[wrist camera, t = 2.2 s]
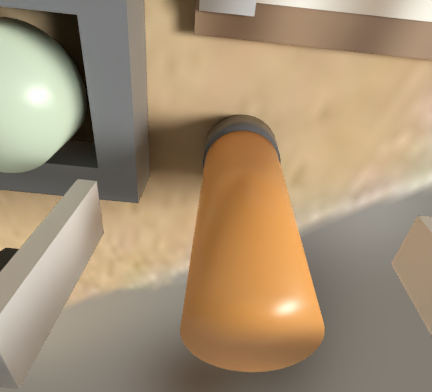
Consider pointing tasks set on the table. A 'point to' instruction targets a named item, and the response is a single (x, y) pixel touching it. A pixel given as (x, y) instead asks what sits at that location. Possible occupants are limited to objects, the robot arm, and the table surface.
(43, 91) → the button
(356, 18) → the board
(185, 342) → the marker
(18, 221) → the table surface
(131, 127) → the button housing
